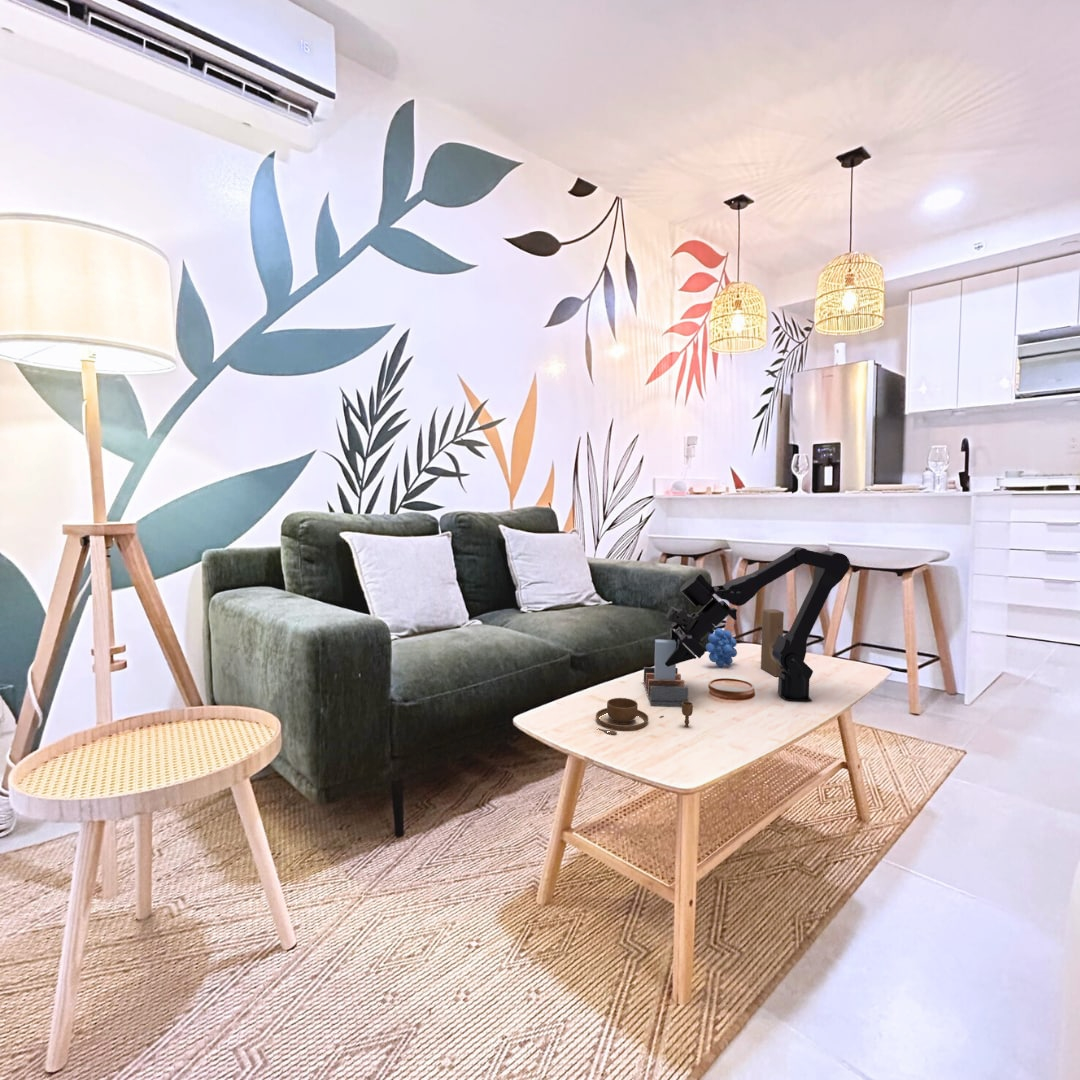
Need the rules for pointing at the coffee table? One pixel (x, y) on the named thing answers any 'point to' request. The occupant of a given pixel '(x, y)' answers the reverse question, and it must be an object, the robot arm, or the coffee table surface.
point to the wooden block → (770, 639)
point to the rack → (665, 689)
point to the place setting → (631, 714)
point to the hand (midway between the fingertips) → (663, 660)
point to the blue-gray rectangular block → (664, 660)
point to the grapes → (721, 647)
